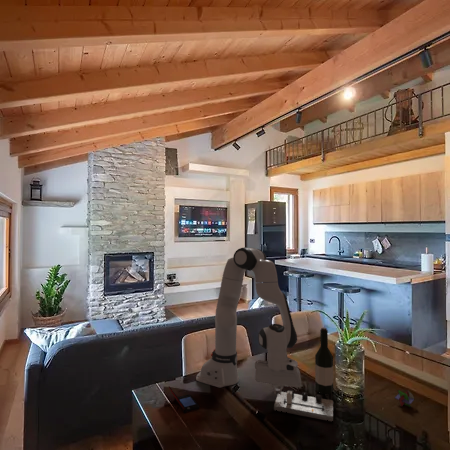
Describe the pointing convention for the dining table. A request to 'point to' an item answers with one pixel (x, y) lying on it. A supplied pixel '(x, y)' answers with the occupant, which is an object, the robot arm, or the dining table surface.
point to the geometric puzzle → (405, 398)
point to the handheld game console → (186, 402)
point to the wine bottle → (324, 365)
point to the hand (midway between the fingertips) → (277, 393)
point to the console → (305, 405)
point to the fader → (289, 397)
